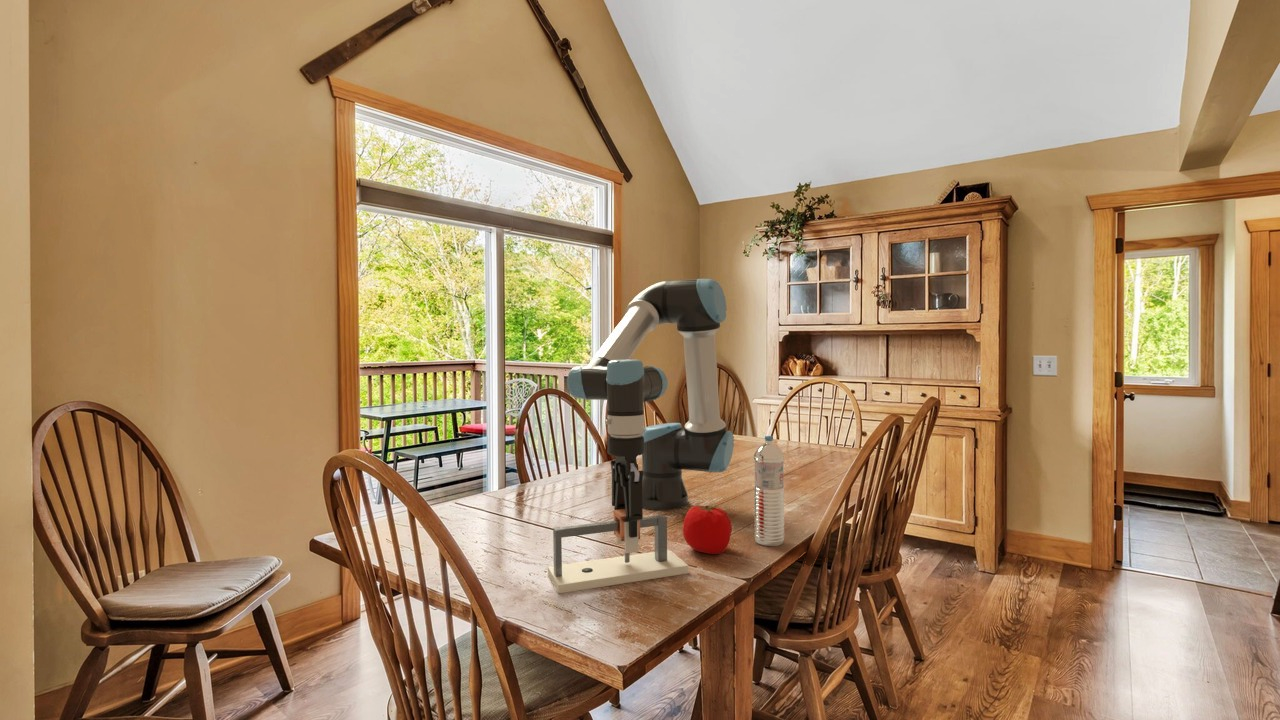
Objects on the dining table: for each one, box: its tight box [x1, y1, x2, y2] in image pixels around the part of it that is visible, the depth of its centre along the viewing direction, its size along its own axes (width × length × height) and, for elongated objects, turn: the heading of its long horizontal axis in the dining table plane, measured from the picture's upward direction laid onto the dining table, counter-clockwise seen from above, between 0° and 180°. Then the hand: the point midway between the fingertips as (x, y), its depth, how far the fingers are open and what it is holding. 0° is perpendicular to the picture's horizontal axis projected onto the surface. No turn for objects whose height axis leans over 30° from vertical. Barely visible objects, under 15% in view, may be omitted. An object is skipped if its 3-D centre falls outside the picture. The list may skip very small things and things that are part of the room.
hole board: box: [547, 549, 689, 594], centre depth 123 cm, size 27×10×2 cm, turn 110°
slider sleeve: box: [613, 509, 641, 563], centre depth 123 cm, size 4×5×10 cm
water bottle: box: [753, 435, 785, 547], centre depth 141 cm, size 7×7×25 cm
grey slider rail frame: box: [552, 514, 668, 577], centre depth 122 cm, size 24×2×9 cm, turn 110°
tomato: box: [682, 505, 733, 555], centre depth 136 cm, size 11×13×10 cm
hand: (627, 547), depth 124 cm, fingers closed on slider sleeve, 5 cm apart
